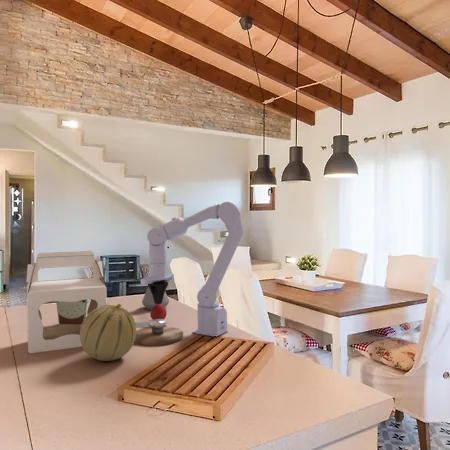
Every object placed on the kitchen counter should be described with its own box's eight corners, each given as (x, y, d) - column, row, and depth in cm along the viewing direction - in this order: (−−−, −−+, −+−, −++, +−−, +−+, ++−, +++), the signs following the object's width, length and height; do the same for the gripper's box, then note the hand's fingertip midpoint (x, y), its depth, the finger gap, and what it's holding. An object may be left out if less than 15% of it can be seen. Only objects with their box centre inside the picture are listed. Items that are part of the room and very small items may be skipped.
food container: (94, 321, 154) (94, 294, 153) (87, 325, 147) (87, 297, 147) (63, 320, 155) (63, 293, 155) (54, 324, 149) (54, 297, 148)
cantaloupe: (79, 354, 116) (79, 301, 116) (132, 348, 121) (132, 297, 121) (80, 372, 102) (80, 312, 102) (140, 364, 107) (140, 307, 107)
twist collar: (165, 323, 134) (165, 317, 134) (167, 327, 129) (167, 321, 129) (120, 326, 131) (120, 320, 131) (120, 331, 126) (120, 324, 125)
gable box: (27, 354, 116) (26, 255, 116) (26, 341, 128) (25, 252, 128) (107, 343, 126) (106, 252, 126) (100, 332, 138) (99, 249, 138)
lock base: (192, 335, 134) (192, 324, 134) (160, 348, 120) (160, 336, 120) (155, 328, 142) (155, 318, 142) (121, 340, 129) (121, 329, 129)
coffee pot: (138, 307, 177) (137, 272, 177) (162, 304, 183) (162, 270, 183) (157, 317, 159) (157, 278, 159) (184, 313, 165) (183, 276, 165)
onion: (158, 326, 145) (158, 303, 145) (147, 323, 149) (146, 301, 149) (169, 323, 150) (169, 301, 150) (158, 320, 153) (158, 299, 153)
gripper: (162, 260, 147) (163, 298, 147) (133, 264, 135) (134, 306, 135) (178, 261, 143) (178, 300, 143) (149, 265, 131) (150, 308, 131)
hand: (158, 303), depth 139 cm, fingers closed
